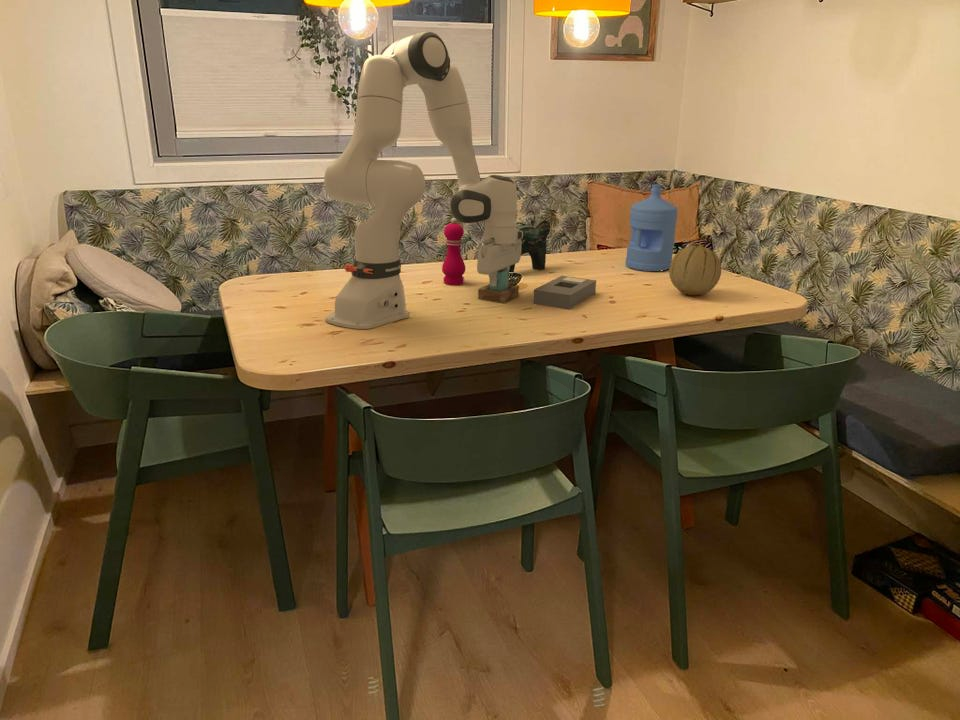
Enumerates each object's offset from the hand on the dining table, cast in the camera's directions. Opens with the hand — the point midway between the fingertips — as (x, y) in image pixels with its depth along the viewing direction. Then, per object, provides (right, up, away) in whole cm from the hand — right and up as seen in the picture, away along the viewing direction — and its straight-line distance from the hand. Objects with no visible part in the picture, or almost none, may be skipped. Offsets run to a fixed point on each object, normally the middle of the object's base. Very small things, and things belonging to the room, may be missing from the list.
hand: (498, 283), depth 197 cm
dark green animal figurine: (+10, +7, +33) cm, 35 cm away
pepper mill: (-14, +2, +17) cm, 22 cm away
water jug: (+53, +10, +43) cm, 69 cm away
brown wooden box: (0, -4, +1) cm, 4 cm away
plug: (0, -4, +1) cm, 4 cm away
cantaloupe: (+58, -2, +9) cm, 59 cm away
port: (+19, -4, +2) cm, 20 cm away
